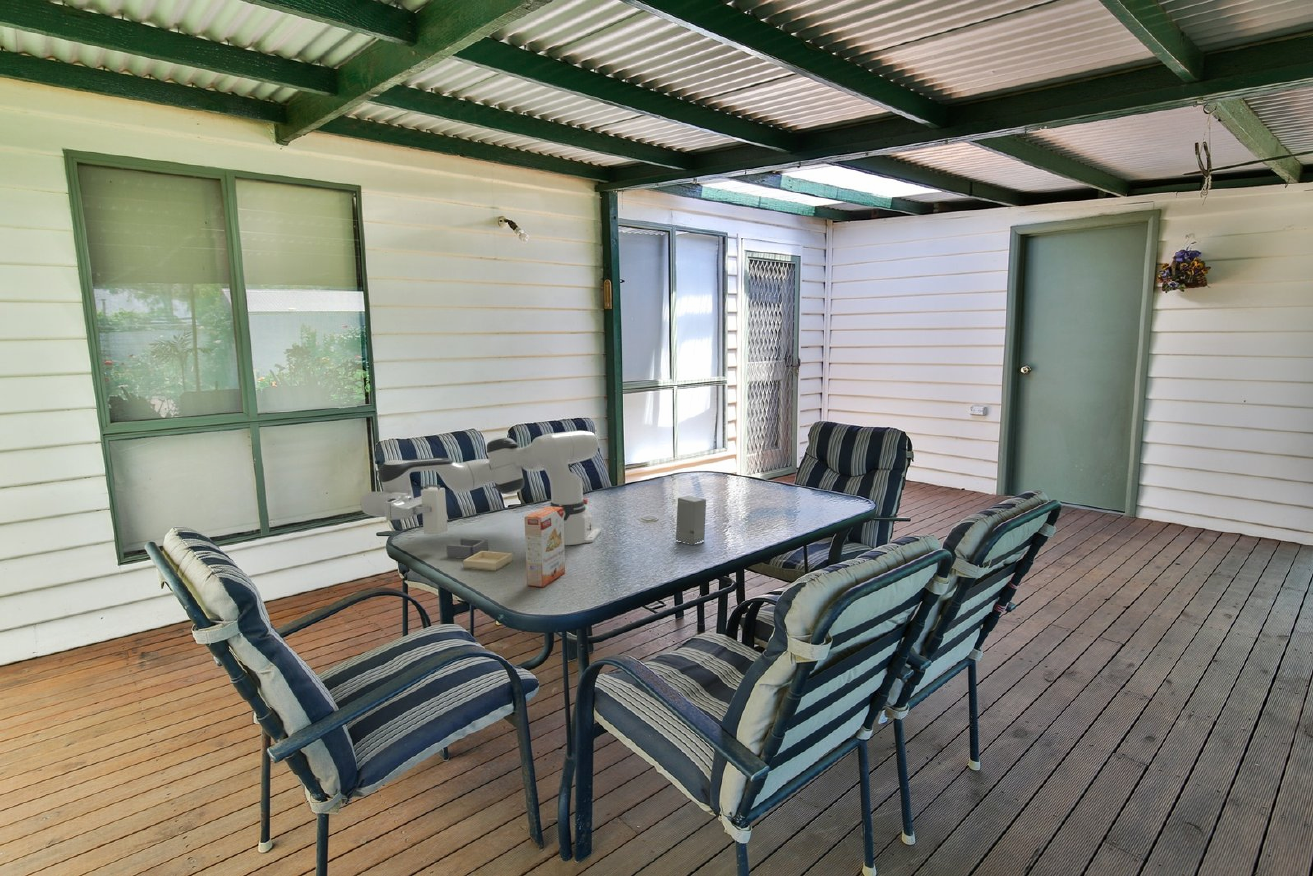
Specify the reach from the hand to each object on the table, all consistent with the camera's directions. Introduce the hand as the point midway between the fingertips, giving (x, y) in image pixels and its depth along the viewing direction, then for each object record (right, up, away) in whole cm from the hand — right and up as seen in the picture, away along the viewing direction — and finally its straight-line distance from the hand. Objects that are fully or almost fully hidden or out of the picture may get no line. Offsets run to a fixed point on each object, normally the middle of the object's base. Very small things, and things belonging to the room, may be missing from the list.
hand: (436, 507), depth 240 cm
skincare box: (+87, -13, +8) cm, 88 cm away
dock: (+11, -16, -1) cm, 19 cm away
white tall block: (-1, -8, +1) cm, 9 cm away
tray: (+21, -17, -13) cm, 30 cm away
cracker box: (+42, -19, -28) cm, 54 cm away
